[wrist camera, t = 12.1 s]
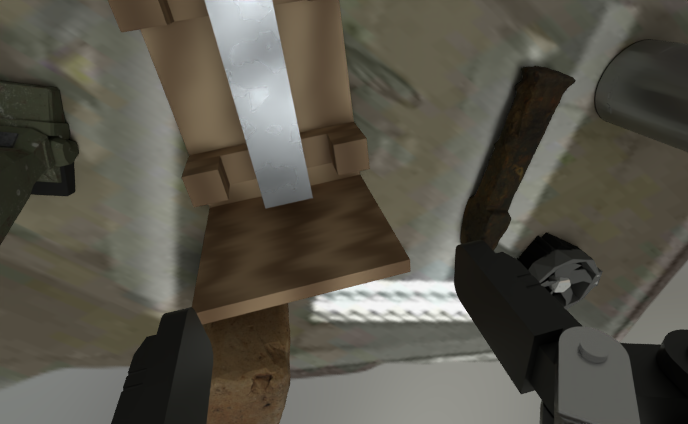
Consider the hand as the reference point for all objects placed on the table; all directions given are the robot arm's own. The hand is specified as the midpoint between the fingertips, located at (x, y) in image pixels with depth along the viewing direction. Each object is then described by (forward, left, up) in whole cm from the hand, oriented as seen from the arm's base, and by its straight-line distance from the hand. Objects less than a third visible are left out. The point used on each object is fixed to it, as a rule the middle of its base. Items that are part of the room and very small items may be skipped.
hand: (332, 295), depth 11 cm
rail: (+1, -1, -25) cm, 25 cm away
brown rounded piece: (+8, +19, -28) cm, 35 cm away
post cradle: (+1, -1, -28) cm, 28 cm away
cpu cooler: (-33, +32, -28) cm, 54 cm away
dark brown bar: (-24, +13, -28) cm, 39 cm away
